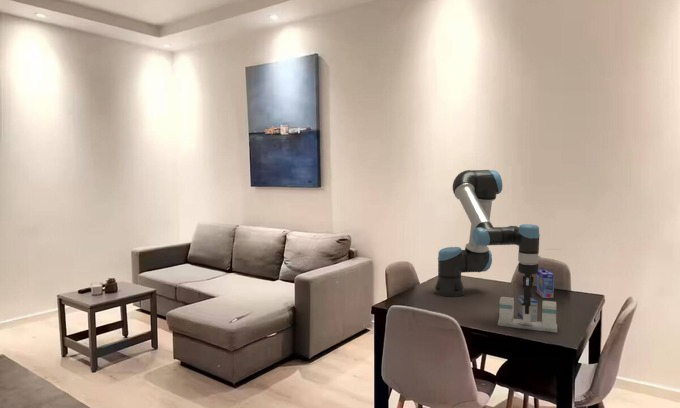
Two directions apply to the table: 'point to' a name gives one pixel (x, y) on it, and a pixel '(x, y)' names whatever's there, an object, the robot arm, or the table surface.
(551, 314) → the white u-shaped block
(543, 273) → the ink cartridge box
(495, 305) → the table surface
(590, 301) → the table surface
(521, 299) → the medicine box
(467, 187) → the robot arm
